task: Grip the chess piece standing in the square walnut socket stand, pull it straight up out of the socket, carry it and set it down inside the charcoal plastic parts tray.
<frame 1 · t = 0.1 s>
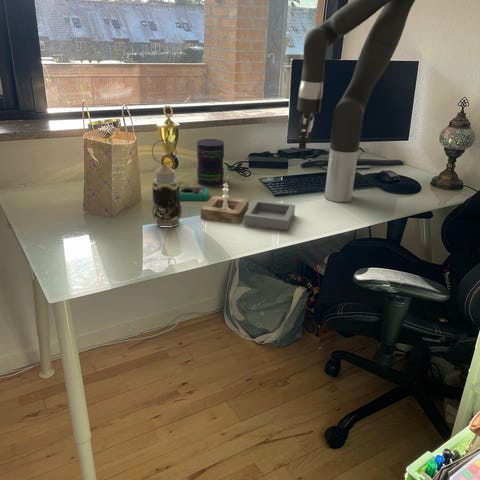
hand: (303, 145, 155), 17 cm above the table, tool pointing down, fingers open, 8 cm apart
chess piece: (225, 213, 144), resting in socket stand
digital multimeter: (186, 198, 157), on the table
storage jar: (210, 182, 171), on the table
parts tray: (269, 220, 140), on the table
lantern: (167, 223, 136), on the table
socket stand: (225, 213, 144), on the table
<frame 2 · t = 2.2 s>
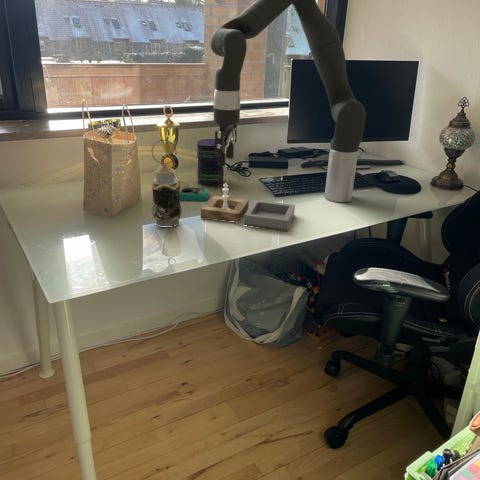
hand: (225, 161, 137), 17 cm above the table, tool pointing down, fingers open, 8 cm apart
nothing on the table moved.
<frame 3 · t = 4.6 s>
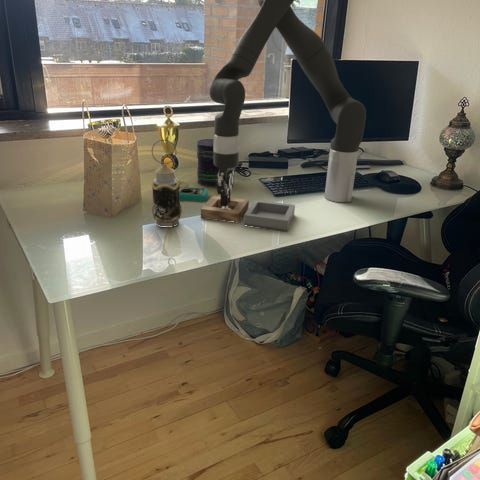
hand: (225, 204, 143), 3 cm above the table, tool pointing down, fingers closed on chess piece
chess piece: (225, 213, 144), resting in socket stand, touching gripper
everything else where it was.
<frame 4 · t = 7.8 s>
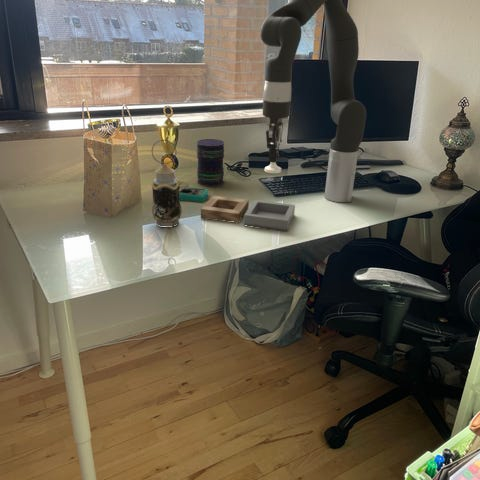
hand: (273, 160, 132), 19 cm above the table, tool pointing down, fingers closed on chess piece
chess piece: (272, 171, 134), point 16 cm above the table, touching gripper
everything else where it was.
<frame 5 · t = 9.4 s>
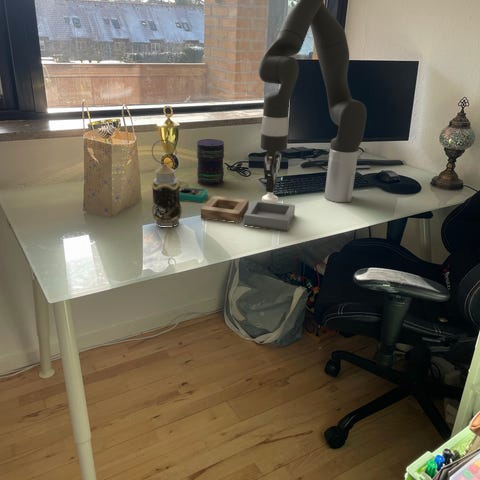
hand: (270, 190, 136), 10 cm above the table, tool pointing down, fingers closed on chess piece
chess piece: (270, 200, 138), point 6 cm above the table, touching gripper
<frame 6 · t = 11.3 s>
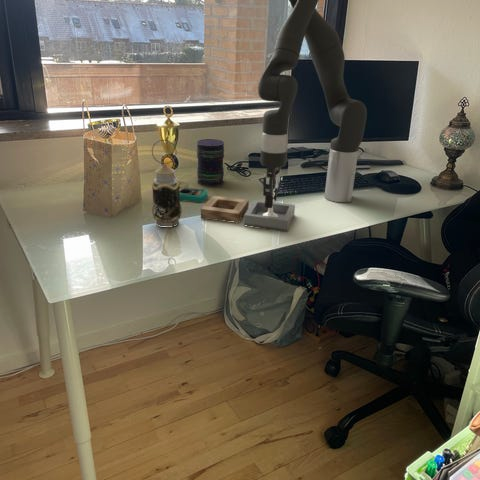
hand: (270, 203, 138), 5 cm above the table, tool pointing down, fingers open, 5 cm apart
chess piece: (269, 218, 140), point 1 cm above the table, touching parts tray
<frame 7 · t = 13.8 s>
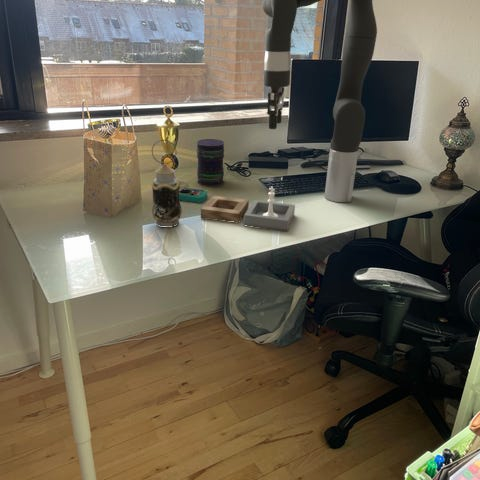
hand: (275, 125, 138), 27 cm above the table, tool pointing down, fingers open, 8 cm apart
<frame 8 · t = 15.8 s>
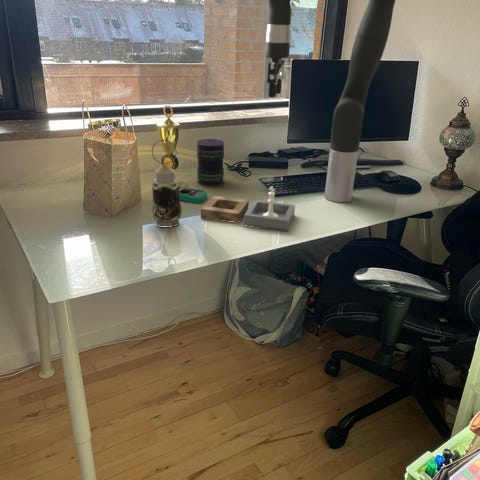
hand: (274, 95, 149), 33 cm above the table, tool pointing down, fingers open, 8 cm apart
at the end: chess piece inside the target area on the parts tray (0.1 cm from its centre), point 0.6 cm above the parts tray's base; the gripper is holding nothing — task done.
